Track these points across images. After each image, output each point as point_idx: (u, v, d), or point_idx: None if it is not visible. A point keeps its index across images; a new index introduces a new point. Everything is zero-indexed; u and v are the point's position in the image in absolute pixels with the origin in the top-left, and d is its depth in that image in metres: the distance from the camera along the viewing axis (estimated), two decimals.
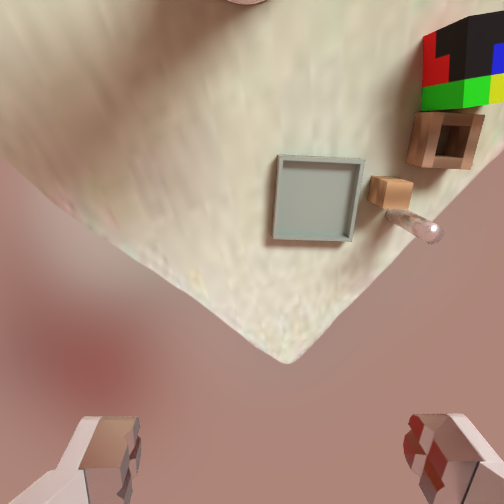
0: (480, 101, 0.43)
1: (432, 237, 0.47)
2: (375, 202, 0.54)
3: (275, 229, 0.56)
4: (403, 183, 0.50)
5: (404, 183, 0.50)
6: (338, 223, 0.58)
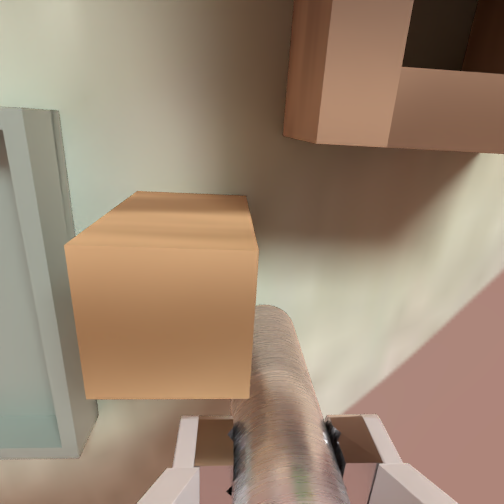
0: None
1: None
2: None
3: None
4: (185, 255, 0.07)
5: (193, 255, 0.07)
6: (34, 378, 0.14)
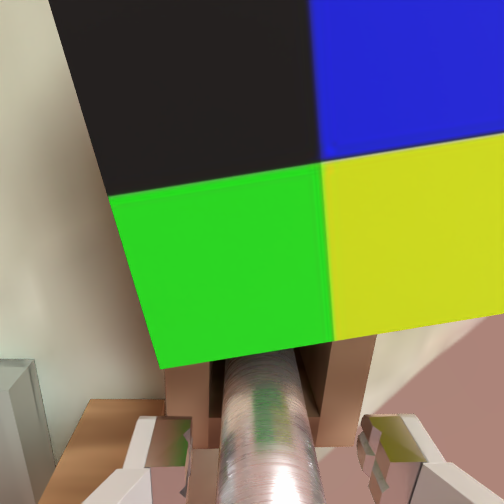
0: (274, 327, 0.06)
1: None
2: None
3: None
4: None
5: None
6: None
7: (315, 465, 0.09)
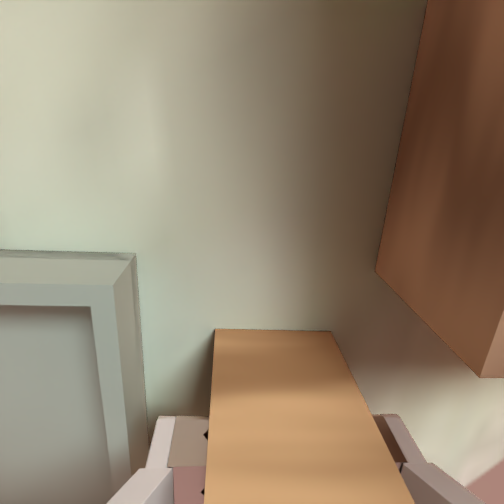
0: None
1: None
2: None
3: None
4: None
5: None
6: None
7: None
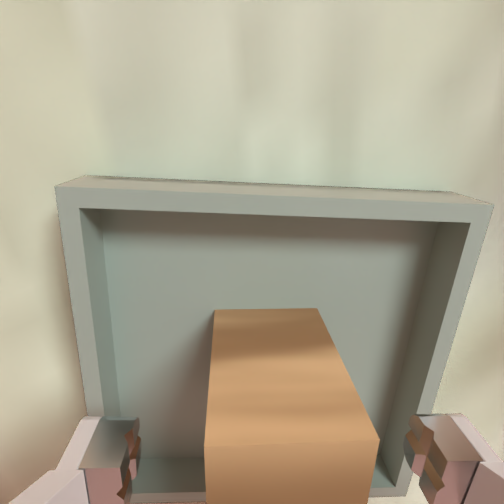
0: None
1: None
2: None
3: None
4: (312, 447, 0.08)
5: (319, 446, 0.08)
6: None
7: None
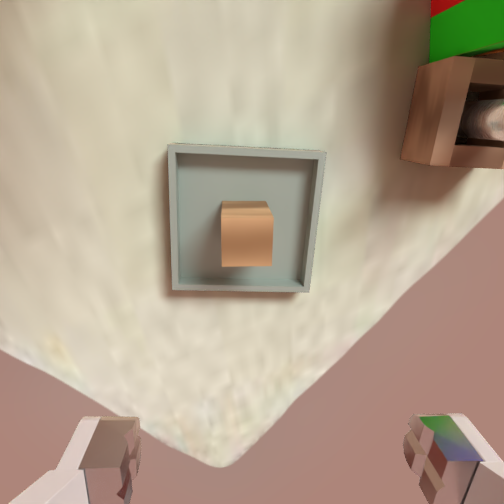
0: None
1: None
2: None
3: (174, 274, 0.32)
4: (253, 219, 0.26)
5: (255, 219, 0.26)
6: (287, 260, 0.34)
7: None
